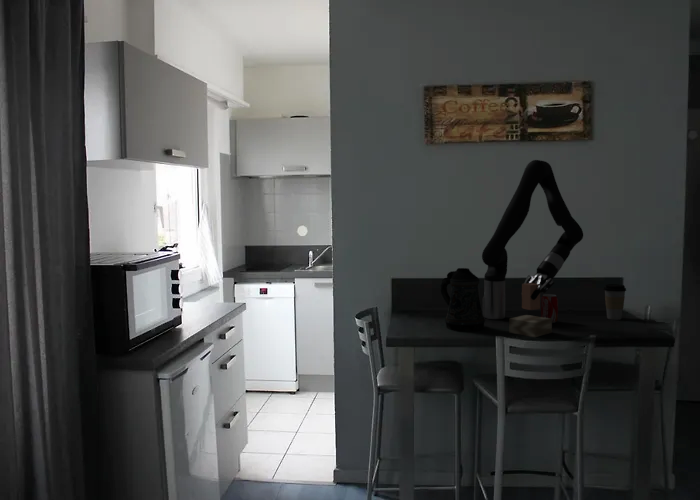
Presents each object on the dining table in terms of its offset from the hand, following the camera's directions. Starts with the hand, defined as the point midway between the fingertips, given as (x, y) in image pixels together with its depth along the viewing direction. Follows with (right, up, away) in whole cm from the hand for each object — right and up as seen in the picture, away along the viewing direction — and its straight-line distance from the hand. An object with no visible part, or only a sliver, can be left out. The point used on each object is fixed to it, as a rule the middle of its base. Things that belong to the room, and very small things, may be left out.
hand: (527, 297), depth 251 cm
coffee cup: (+47, -12, +29) cm, 56 cm away
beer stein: (-24, -14, +14) cm, 31 cm away
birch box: (+2, -15, +2) cm, 15 cm away
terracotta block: (+2, -5, +1) cm, 5 cm away
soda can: (+16, -13, +23) cm, 30 cm away
